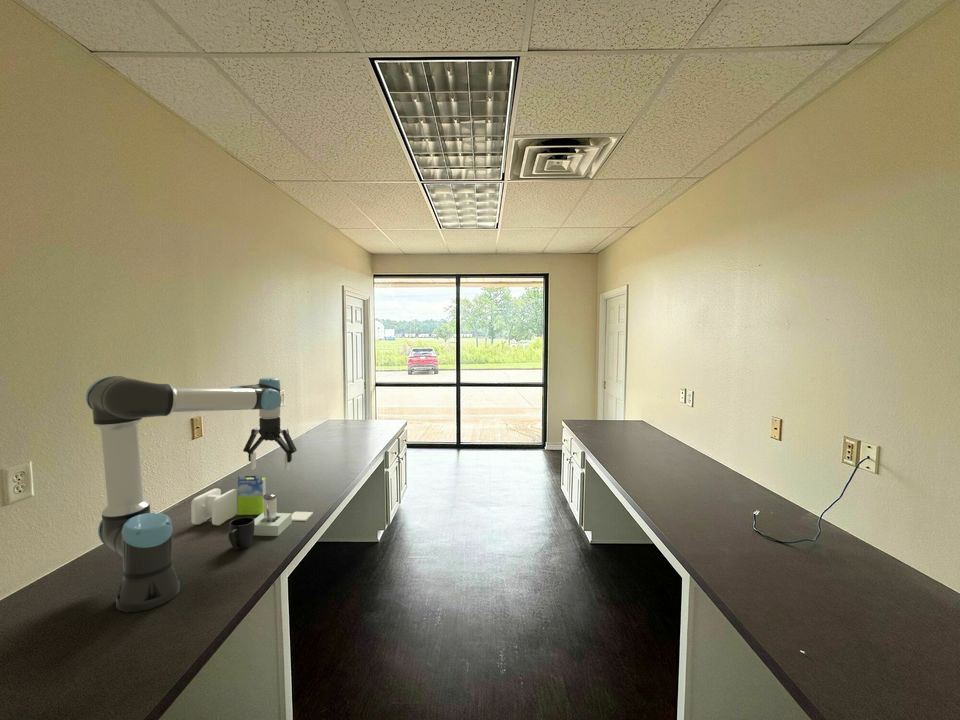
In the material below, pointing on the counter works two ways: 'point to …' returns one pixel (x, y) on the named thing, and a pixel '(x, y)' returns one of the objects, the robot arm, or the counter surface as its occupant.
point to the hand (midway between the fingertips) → (270, 469)
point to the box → (251, 495)
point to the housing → (272, 525)
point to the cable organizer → (214, 506)
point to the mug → (241, 532)
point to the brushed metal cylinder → (270, 507)
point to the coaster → (301, 516)
